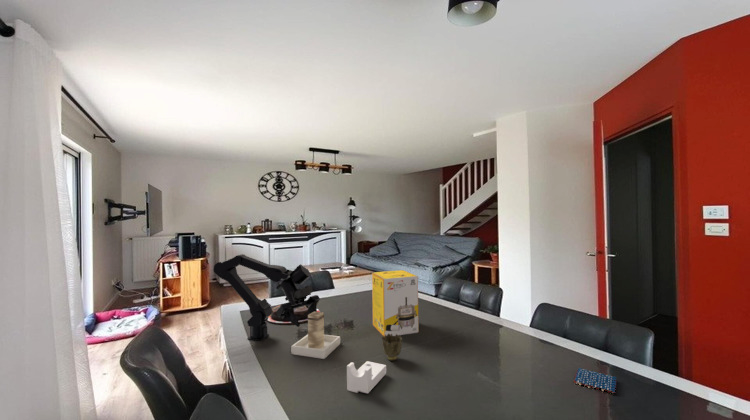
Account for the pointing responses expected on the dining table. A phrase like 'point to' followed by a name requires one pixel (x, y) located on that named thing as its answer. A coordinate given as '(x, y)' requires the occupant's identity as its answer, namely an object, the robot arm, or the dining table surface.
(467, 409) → the dining table surface
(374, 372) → the bracket
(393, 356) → the cup
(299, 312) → the chocolate cake
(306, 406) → the dining table surface
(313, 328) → the birch block
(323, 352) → the tray
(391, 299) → the packaging box
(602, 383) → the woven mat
